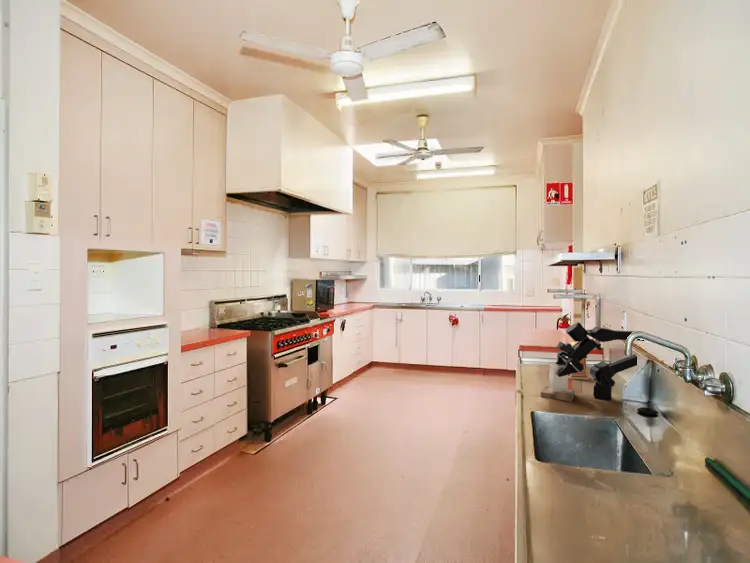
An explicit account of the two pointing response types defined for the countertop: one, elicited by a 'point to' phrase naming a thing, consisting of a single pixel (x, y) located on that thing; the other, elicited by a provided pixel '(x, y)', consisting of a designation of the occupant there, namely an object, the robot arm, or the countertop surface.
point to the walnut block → (558, 394)
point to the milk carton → (579, 375)
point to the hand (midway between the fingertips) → (555, 373)
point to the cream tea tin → (557, 379)
